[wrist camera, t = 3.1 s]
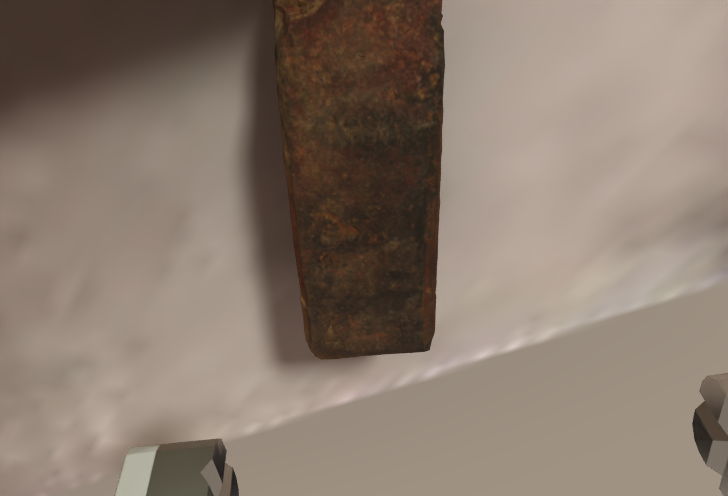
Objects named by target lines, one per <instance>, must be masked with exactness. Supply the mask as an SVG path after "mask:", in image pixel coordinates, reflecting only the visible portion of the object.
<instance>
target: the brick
mask: <svg viewBox="0 0 728 496" xmlns="http://www.w3.org/2000/svg"><path fill="white" fill-rule="evenodd" d="M273 6H274V16H275V38H276V44H275V59H276V72H277V92H278V102H279V109H280V116H281V124H282V134H283V151H284V161H285V167H286V175H287V184H288V193H289V200H290V212H291V221H292V229H293V239H294V248H295V253H296V261H297V269H298V277H299V283H300V290H301V305H302V312H303V320H304V331H305V337H306V341H307V342H308V345H309V348H310V350H311V351H312V353H313V354H314V356H315V357H318V358H320V359H339V358H349V357H358V356H369V355H382V354H397V353H414V352H425V351H428V350H430V346H431V342H432V338H433V336H434V333H435V311H436V293H435V291H436V276H437V258H438V228H439V209H440V180H441V154H442V123H443V85H444V69H445V58H444V30H443V28H442V26H441V20H442V17H443V15H442V14H441V12H442V0H273Z"/></svg>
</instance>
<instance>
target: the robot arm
mask: <svg viewBox="0 0 728 496" xmlns="http://www.w3.org/2000/svg"><path fill="white" fill-rule="evenodd" d="M700 393H701V395H702V396H703V398H704V400H705V401H704V402H703V403H702V404H701V405H700V406H699V407H698V408H696V409H695V412H694V417H693V423H692V425H693V432H694V439H695V442H696V445H697V448H698V450H699V453H700V455H701V456H702V458H703V460H704V462H705V464H706V465H707V466H708V467H710V468H711V469H713V470H714V471H716V472H718V473H719V474H721V475H722V479H721V483H720V488H719V489H720V490H721V492H722V494H723V495H724V496H728V373H724V374H717V375H710V376H707V377H706V378H705V379H704V380H703V381H702V384H701V388H700ZM226 452H227V451H226V448H225V446H224V444H223V441H222V439H209V440H199V441H189V442H179V443H169V444H161V445H152V446H143V447H134V448H131V449H130V451H129V452H128V454H127V455H126V457H125V460H124V463H123V467H122V470H121V474H120V478H119V482H118V485H117V488H116V492H115V496H239V492H238V491H239V490H238V484H237V479H236V475H235V472H234V469H233V467H231V466H229V465H228V464H226V463H225V461H226Z"/></svg>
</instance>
